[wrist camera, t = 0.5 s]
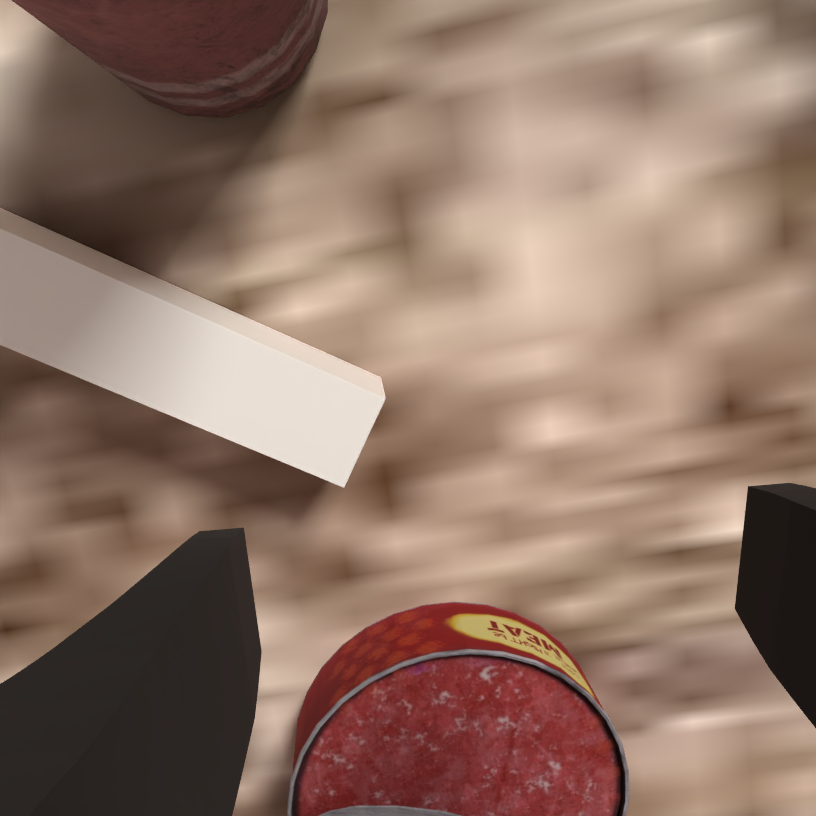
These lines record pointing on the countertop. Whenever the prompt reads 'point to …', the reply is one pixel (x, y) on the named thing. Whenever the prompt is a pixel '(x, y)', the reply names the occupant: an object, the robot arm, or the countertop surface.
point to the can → (193, 46)
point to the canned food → (455, 723)
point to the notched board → (181, 353)
